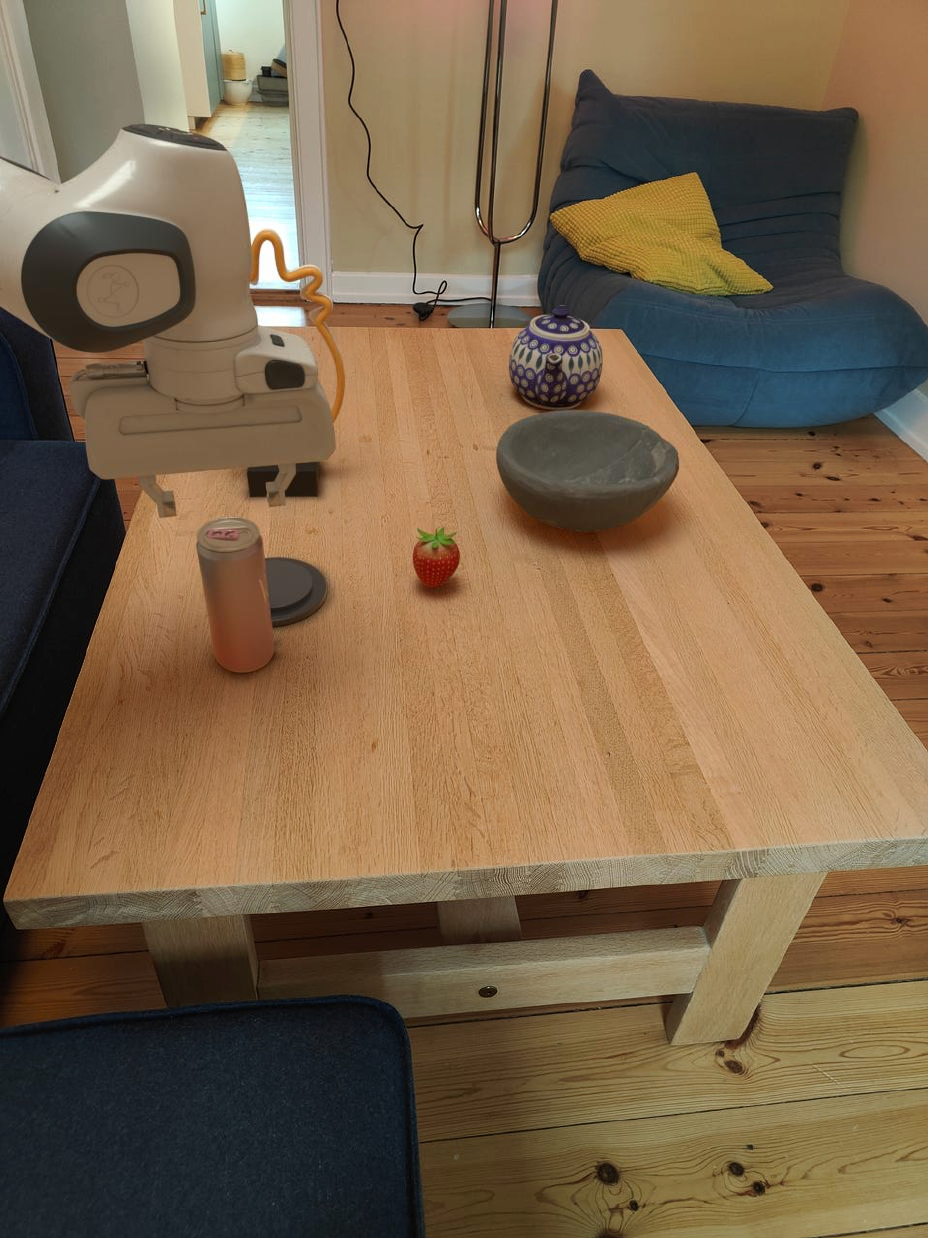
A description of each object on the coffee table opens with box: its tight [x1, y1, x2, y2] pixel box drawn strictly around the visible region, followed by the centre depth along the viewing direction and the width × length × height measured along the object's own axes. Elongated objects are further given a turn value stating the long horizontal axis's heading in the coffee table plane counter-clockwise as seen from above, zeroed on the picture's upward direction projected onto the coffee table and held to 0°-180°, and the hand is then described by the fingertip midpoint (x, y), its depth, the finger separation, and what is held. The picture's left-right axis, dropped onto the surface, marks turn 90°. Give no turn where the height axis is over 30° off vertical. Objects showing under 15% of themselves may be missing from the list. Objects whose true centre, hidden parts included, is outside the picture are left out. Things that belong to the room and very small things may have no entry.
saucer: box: [265, 556, 328, 628], centre depth 96 cm, size 12×12×1 cm
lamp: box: [246, 228, 346, 498], centre depth 106 cm, size 17×9×32 cm, turn 96°
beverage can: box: [195, 516, 276, 674], centre depth 83 cm, size 6×6×15 cm
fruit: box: [412, 526, 461, 589], centre depth 96 cm, size 5×5×8 cm
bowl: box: [495, 409, 680, 532], centre depth 110 cm, size 23×22×10 cm
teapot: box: [508, 304, 604, 411], centre depth 137 cm, size 25×15×15 cm, turn 169°
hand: (223, 508), depth 77 cm, fingers open, 8 cm apart
